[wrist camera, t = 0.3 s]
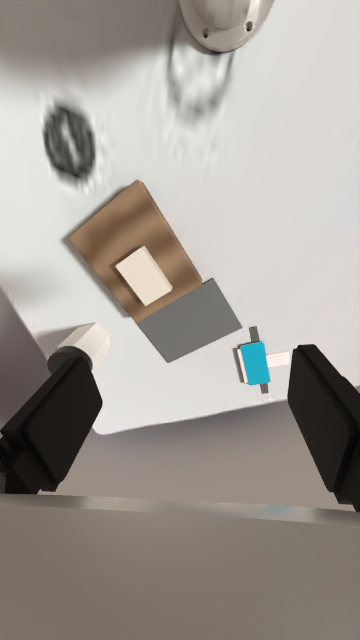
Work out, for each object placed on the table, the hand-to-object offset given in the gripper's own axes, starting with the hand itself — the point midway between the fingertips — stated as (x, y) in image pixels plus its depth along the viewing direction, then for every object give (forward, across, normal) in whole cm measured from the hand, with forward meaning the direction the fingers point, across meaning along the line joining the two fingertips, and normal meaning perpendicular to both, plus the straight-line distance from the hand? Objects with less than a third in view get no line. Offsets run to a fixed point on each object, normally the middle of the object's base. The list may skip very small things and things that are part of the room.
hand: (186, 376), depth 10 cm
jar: (+36, +27, +18) cm, 48 cm away
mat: (+36, +4, +16) cm, 39 cm away
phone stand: (+37, -13, +27) cm, 47 cm away
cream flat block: (+32, +10, +2) cm, 33 cm away
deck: (+36, +11, 0) cm, 37 cm away
